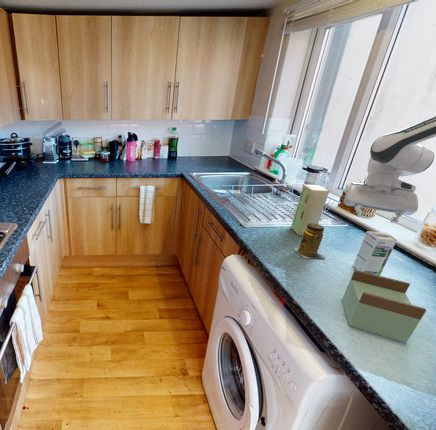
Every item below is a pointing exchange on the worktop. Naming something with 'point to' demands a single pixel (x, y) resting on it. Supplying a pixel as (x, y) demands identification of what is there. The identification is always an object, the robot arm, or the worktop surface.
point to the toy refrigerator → (309, 207)
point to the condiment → (311, 241)
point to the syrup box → (374, 252)
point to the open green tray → (380, 306)
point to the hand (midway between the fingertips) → (377, 219)
